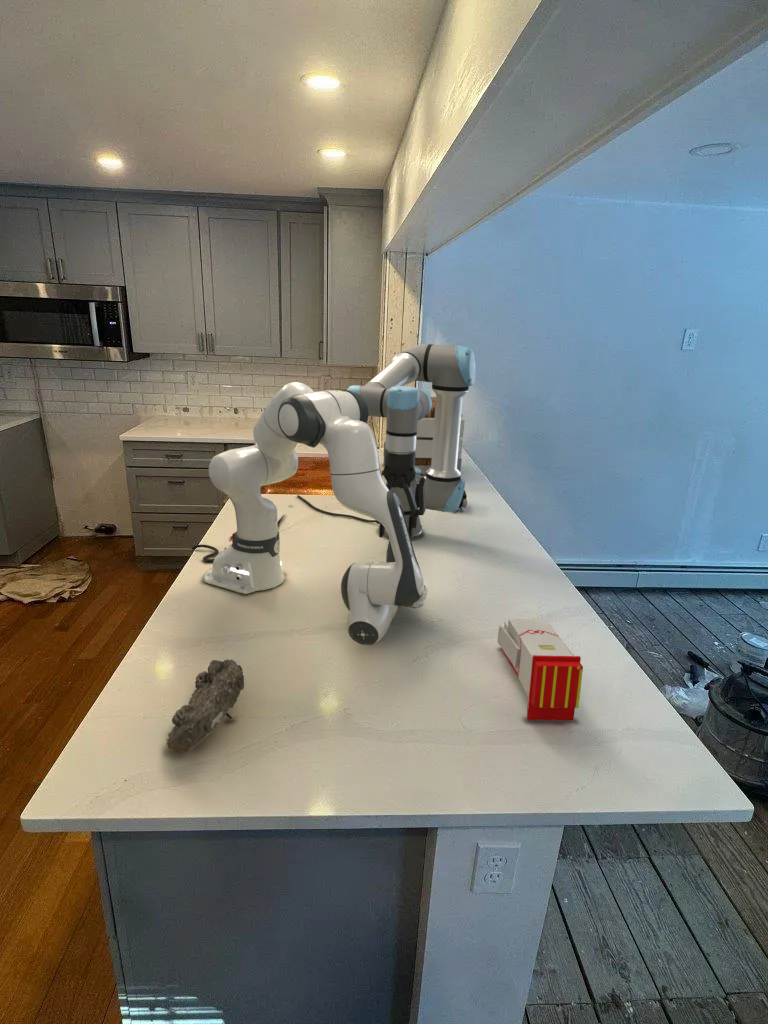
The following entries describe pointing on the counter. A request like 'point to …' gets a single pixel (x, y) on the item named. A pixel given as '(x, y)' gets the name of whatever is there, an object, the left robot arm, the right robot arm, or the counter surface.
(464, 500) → the figurine character
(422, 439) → the light boxy container
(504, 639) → the toy
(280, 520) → the feather
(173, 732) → the fossil
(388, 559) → the bottle
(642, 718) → the counter surface
